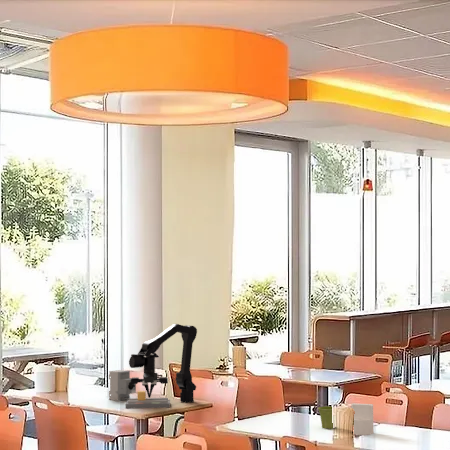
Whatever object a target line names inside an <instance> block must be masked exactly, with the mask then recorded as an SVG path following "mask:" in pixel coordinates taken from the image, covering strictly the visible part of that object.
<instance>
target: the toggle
mask: <svg viewBox="0 0 450 450" xmlns="http://www.w3.org/2000/svg"><path fill="white" fill-rule="evenodd" d="M136 393H137V398H138V400H146V398H147V391H146V390H138V391H136Z"/></svg>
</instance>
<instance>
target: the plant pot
mask: <svg viewBox="0 0 450 450" xmlns="http://www.w3.org/2000/svg"><path fill="white" fill-rule="evenodd" d="M332 406H333V405H332ZM332 406H319V407H317V410H318V412H319V415H320V416H319V417H320V421H321V428H322V429H324V430H326V429H328V430H333V423H332Z"/></svg>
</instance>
